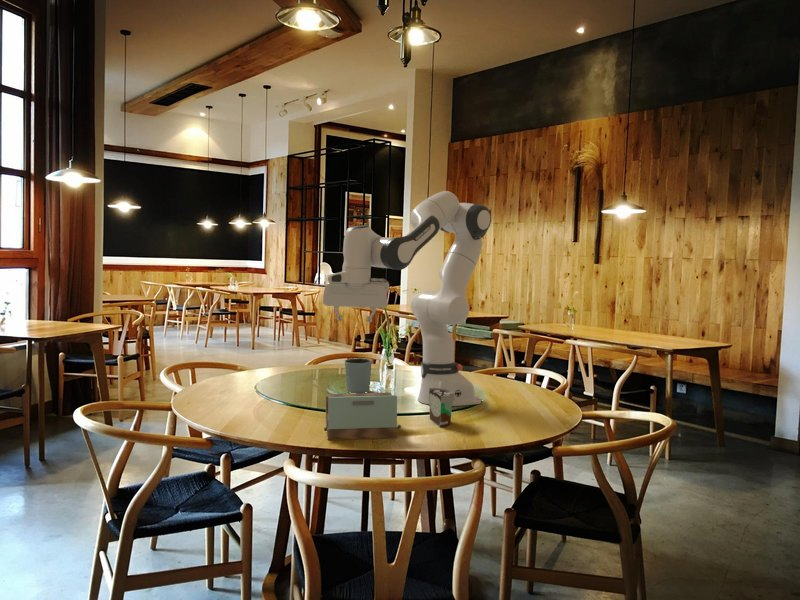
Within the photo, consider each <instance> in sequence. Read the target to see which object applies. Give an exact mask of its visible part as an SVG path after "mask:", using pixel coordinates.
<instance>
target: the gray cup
mask: <svg viewBox="0 0 800 600" xmlns="http://www.w3.org/2000/svg"><path fill="white" fill-rule="evenodd" d="M372 362H373V360H372V359H369V358H361V357H357V358H356V357H355V358H347V359H345V360H344V367H345V368H344V369H345V379H346V380H345V382H346V392H347V391H348V392H351V393H365V392H369V393H370V391H371V387H370V385H371V376H372V375H371V374H372V373H371V371H372ZM348 392H347V393H348Z"/></svg>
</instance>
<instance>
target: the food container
mask: <svg viewBox="0 0 800 600" xmlns="http://www.w3.org/2000/svg"><path fill="white" fill-rule="evenodd" d="M454 400H455V397H454V394H453V392H452V391H451V390H448V389H442V388H429V403H430V404H429V420H430V421H431V422H432V423H433V424H435V425H436V426H437V427H439V428H445V427H449V426H451V422H452V419H451V418H452V409H453V406H452V402H453V401H454Z"/></svg>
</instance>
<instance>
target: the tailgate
mask: <svg viewBox="0 0 800 600" xmlns="http://www.w3.org/2000/svg"><path fill="white" fill-rule="evenodd" d="M381 427H397V428H398V396H397V395H396V394H395V395H393V394H392V395H385V396H345V397H328V429H350V428H381Z"/></svg>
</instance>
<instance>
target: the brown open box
mask: <svg viewBox="0 0 800 600" xmlns="http://www.w3.org/2000/svg"><path fill="white" fill-rule="evenodd" d="M385 395H393V394H392V392H369V393H356V394H350V393H328V394H327V393H326V394H325V427H323V428H324V429H323V431H324V432H326V431H327V432H326V438H327V437H328V438H327V440H328V439H344V440H364V439H365V440H369V439H396V438H398V429H402V425H401V424H397V427H381V428H350V429H328V397H345V396H385Z"/></svg>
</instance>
